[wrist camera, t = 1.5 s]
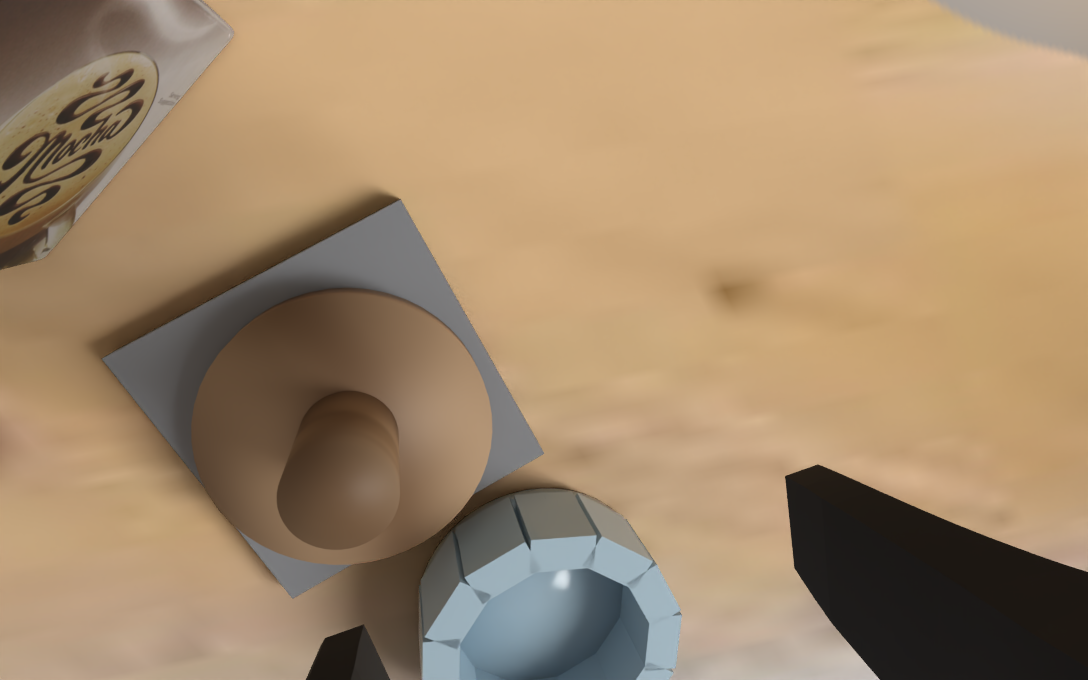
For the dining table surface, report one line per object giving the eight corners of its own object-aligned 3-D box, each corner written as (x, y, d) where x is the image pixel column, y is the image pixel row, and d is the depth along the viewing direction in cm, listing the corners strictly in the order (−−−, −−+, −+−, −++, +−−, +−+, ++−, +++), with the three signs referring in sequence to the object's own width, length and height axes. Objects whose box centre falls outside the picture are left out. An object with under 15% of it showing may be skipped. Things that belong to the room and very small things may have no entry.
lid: (305, 590, 23) (281, 707, 18) (138, 378, 20) (54, 447, 15) (531, 460, 23) (569, 537, 18) (402, 236, 20) (405, 256, 15)
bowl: (488, 728, 27) (502, 807, 23) (373, 569, 24) (369, 633, 20) (676, 614, 27) (715, 675, 24) (586, 445, 24) (616, 488, 21)
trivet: (295, 584, 23) (292, 598, 22) (112, 351, 20) (101, 358, 19) (539, 444, 24) (544, 453, 23) (400, 198, 21) (400, 199, 20)
